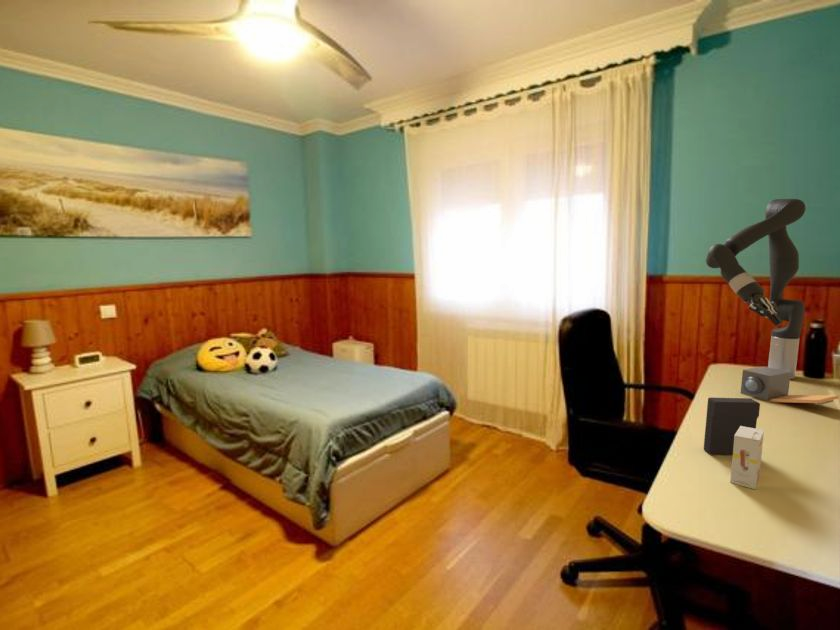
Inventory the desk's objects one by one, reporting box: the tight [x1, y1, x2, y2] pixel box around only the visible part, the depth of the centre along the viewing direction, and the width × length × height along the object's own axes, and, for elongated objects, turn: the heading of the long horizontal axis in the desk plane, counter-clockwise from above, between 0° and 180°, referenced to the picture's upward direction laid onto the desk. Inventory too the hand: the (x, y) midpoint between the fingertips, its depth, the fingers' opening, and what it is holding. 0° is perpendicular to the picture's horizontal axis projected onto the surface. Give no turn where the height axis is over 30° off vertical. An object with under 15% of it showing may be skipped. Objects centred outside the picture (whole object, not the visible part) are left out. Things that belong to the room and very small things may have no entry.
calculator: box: [703, 397, 761, 456], centre depth 115 cm, size 11×4×15 cm, turn 84°
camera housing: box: [740, 365, 791, 402], centre depth 159 cm, size 14×9×10 cm, turn 112°
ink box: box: [729, 426, 765, 490], centre depth 102 cm, size 9×5×12 cm, turn 136°
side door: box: [769, 394, 840, 406], centre depth 149 cm, size 11×2×15 cm
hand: (779, 324), depth 154 cm, fingers closed
